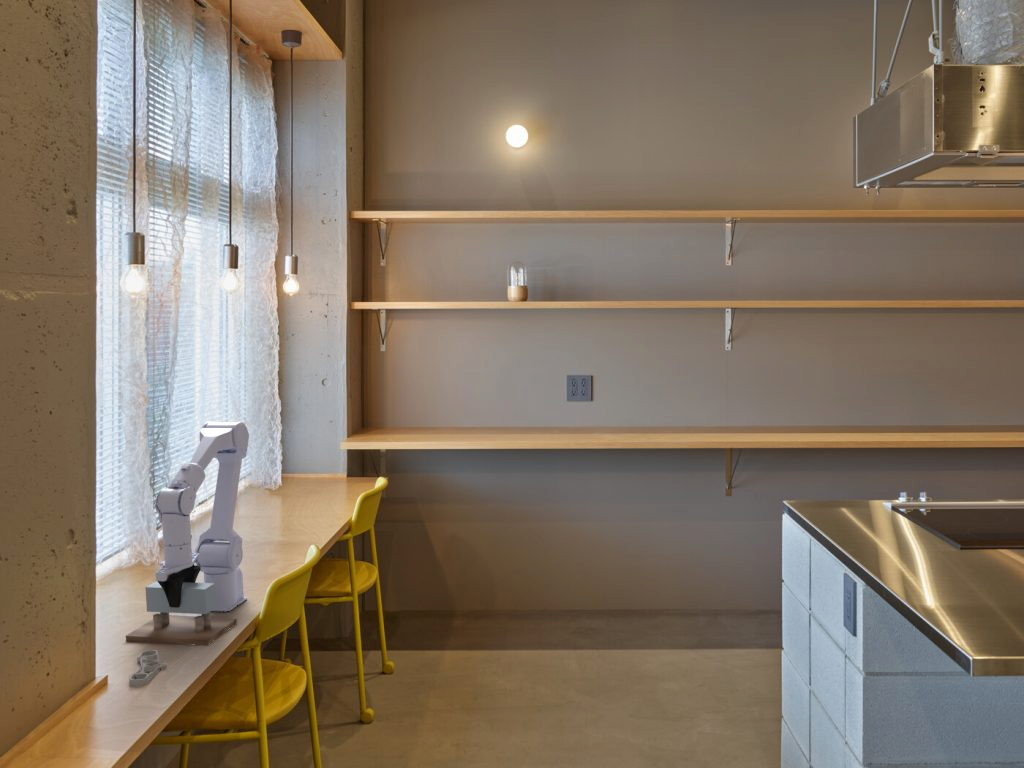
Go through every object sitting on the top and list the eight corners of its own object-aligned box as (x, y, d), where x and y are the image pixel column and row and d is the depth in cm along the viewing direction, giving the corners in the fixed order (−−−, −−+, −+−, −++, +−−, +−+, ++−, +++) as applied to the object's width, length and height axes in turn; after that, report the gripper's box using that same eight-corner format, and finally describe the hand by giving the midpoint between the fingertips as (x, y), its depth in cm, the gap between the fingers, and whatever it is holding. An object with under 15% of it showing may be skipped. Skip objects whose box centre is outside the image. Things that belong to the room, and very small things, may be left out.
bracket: (108, 679, 173) (144, 648, 188) (109, 689, 174) (144, 656, 188) (146, 680, 173) (179, 648, 188) (147, 689, 173) (180, 657, 188)
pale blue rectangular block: (215, 607, 201) (214, 583, 201) (206, 614, 197) (204, 589, 197) (157, 605, 204) (156, 581, 203) (146, 611, 200) (145, 587, 199)
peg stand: (160, 619, 209) (159, 601, 209) (236, 623, 205) (235, 605, 205) (126, 641, 196) (124, 622, 196) (206, 645, 193) (205, 626, 192)
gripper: (178, 533, 207) (182, 591, 208) (141, 551, 193) (145, 613, 194) (207, 534, 205) (210, 592, 207) (171, 552, 191) (175, 615, 193)
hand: (181, 603), depth 200 cm, fingers closed on pale blue rectangular block, 4 cm apart
